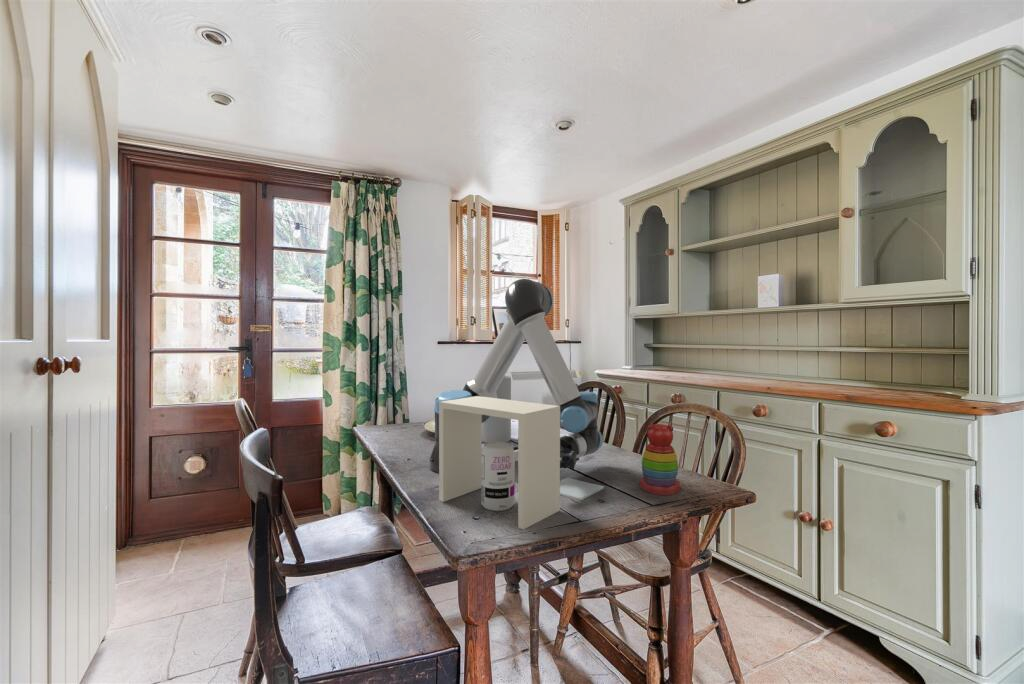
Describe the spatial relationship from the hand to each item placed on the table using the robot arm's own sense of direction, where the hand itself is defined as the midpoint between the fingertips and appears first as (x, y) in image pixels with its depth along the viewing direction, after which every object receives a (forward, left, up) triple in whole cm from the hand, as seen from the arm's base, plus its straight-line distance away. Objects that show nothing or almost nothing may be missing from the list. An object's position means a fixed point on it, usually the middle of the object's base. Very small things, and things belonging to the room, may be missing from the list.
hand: (524, 463), depth 123 cm
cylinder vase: (-30, +54, -8) cm, 62 cm away
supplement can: (-4, -10, -8) cm, 13 cm away
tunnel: (-4, -10, -8) cm, 13 cm away
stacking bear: (+33, +16, -8) cm, 38 cm away
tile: (+11, +8, -8) cm, 16 cm away
